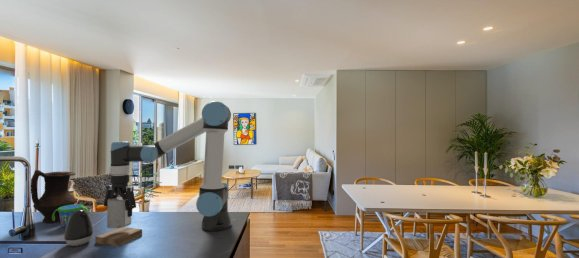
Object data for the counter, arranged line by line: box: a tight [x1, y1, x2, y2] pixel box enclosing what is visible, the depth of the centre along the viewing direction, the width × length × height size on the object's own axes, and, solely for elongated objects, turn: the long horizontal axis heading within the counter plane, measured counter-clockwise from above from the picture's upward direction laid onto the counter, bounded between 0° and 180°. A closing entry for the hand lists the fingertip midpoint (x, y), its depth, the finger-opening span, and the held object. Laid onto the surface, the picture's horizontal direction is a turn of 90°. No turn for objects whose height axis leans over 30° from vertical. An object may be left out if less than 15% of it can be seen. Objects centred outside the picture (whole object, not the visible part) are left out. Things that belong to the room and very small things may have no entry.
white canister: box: [106, 195, 132, 230], centre depth 124 cm, size 10×10×12 cm
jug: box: [30, 169, 78, 224], centre depth 150 cm, size 21×18×30 cm
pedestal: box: [94, 226, 143, 247], centre depth 123 cm, size 13×13×3 cm
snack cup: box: [52, 203, 90, 228], centre depth 142 cm, size 16×10×10 cm
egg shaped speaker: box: [63, 209, 94, 247], centre depth 119 cm, size 10×10×15 cm
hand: (119, 222), depth 124 cm, fingers closed on white canister, 9 cm apart
